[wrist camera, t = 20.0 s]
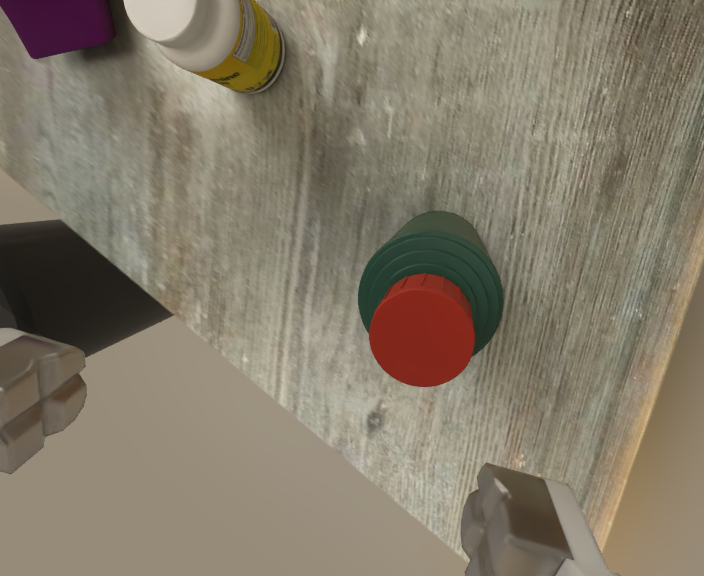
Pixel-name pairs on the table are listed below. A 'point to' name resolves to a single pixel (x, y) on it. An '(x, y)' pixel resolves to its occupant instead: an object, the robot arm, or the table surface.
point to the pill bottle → (214, 39)
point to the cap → (423, 331)
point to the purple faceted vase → (59, 24)
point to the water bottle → (437, 268)
